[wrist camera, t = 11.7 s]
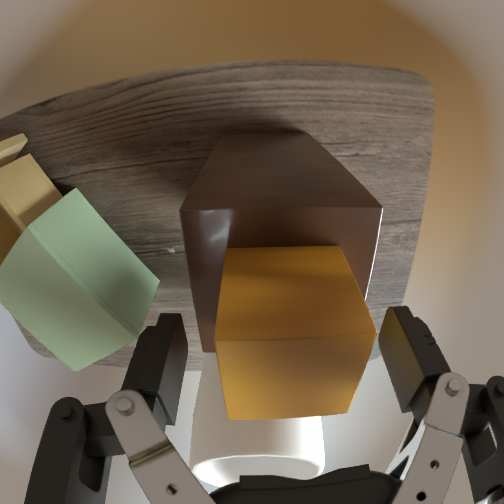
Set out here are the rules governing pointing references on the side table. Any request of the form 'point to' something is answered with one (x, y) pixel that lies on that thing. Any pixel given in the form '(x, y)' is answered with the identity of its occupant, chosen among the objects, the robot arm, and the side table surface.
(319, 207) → the stand
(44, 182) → the drawer
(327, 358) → the block
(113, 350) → the cabinet
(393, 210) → the side table surface
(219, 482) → the cup
